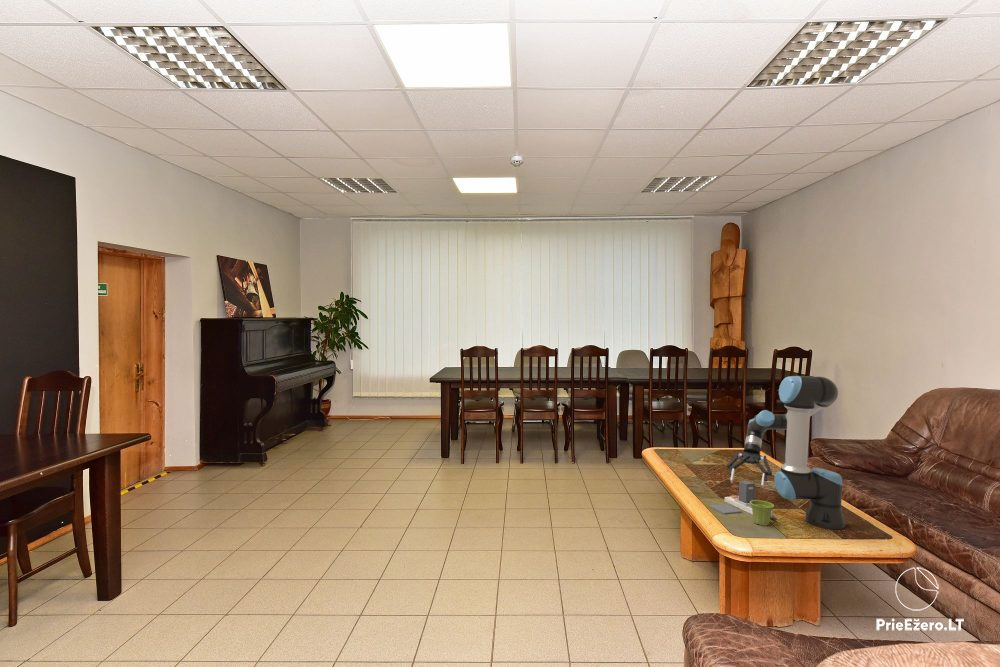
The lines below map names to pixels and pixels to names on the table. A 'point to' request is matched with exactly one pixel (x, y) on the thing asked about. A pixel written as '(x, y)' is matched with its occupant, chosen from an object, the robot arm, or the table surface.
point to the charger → (746, 491)
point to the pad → (725, 509)
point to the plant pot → (761, 511)
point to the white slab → (743, 505)
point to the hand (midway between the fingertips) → (746, 484)
